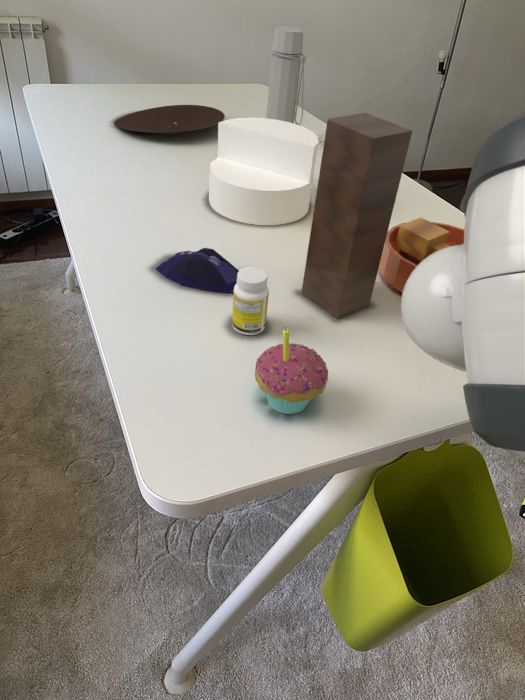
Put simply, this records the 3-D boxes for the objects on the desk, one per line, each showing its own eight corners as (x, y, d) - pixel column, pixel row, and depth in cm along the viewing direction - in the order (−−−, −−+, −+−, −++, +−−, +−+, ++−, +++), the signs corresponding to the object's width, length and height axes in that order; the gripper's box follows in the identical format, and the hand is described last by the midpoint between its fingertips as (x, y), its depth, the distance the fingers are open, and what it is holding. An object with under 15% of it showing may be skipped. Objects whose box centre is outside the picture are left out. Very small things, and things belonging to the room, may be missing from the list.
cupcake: (285, 436, 62) (298, 354, 54) (237, 394, 66) (243, 313, 59) (336, 404, 66) (355, 324, 59) (288, 367, 71) (300, 288, 63)
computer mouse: (179, 249, 92) (179, 227, 90) (258, 275, 88) (260, 252, 86) (147, 273, 86) (146, 250, 83) (231, 302, 81) (233, 279, 79)
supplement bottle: (246, 312, 80) (250, 261, 75) (272, 326, 78) (278, 274, 72) (224, 325, 77) (227, 274, 72) (250, 340, 75) (254, 288, 69)
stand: (369, 305, 84) (412, 130, 68) (337, 319, 80) (374, 138, 64) (333, 281, 89) (365, 112, 72) (301, 293, 85) (327, 118, 69)
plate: (152, 104, 155) (151, 90, 153) (242, 124, 148) (242, 110, 146) (90, 129, 135) (89, 114, 133) (191, 154, 128) (191, 138, 125)
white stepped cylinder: (189, 206, 106) (189, 135, 98) (240, 175, 120) (244, 111, 112) (281, 235, 100) (290, 162, 91) (324, 199, 114) (334, 133, 106)
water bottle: (259, 143, 137) (268, 29, 122) (268, 134, 143) (278, 24, 128) (295, 150, 136) (308, 35, 120) (302, 140, 142) (316, 30, 126)
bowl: (483, 263, 98) (494, 232, 94) (493, 319, 84) (507, 286, 80) (380, 244, 100) (388, 214, 96) (374, 297, 86) (383, 263, 82)
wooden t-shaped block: (489, 277, 87) (498, 255, 84) (469, 288, 84) (478, 265, 81) (415, 238, 95) (420, 217, 93) (394, 246, 92) (399, 225, 90)
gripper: (595, 249, 80) (539, 174, 83) (519, 288, 69) (458, 201, 72) (559, 272, 85) (507, 201, 88) (484, 311, 74) (427, 229, 77)
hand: (484, 201), depth 80 cm, fingers open, 5 cm apart
